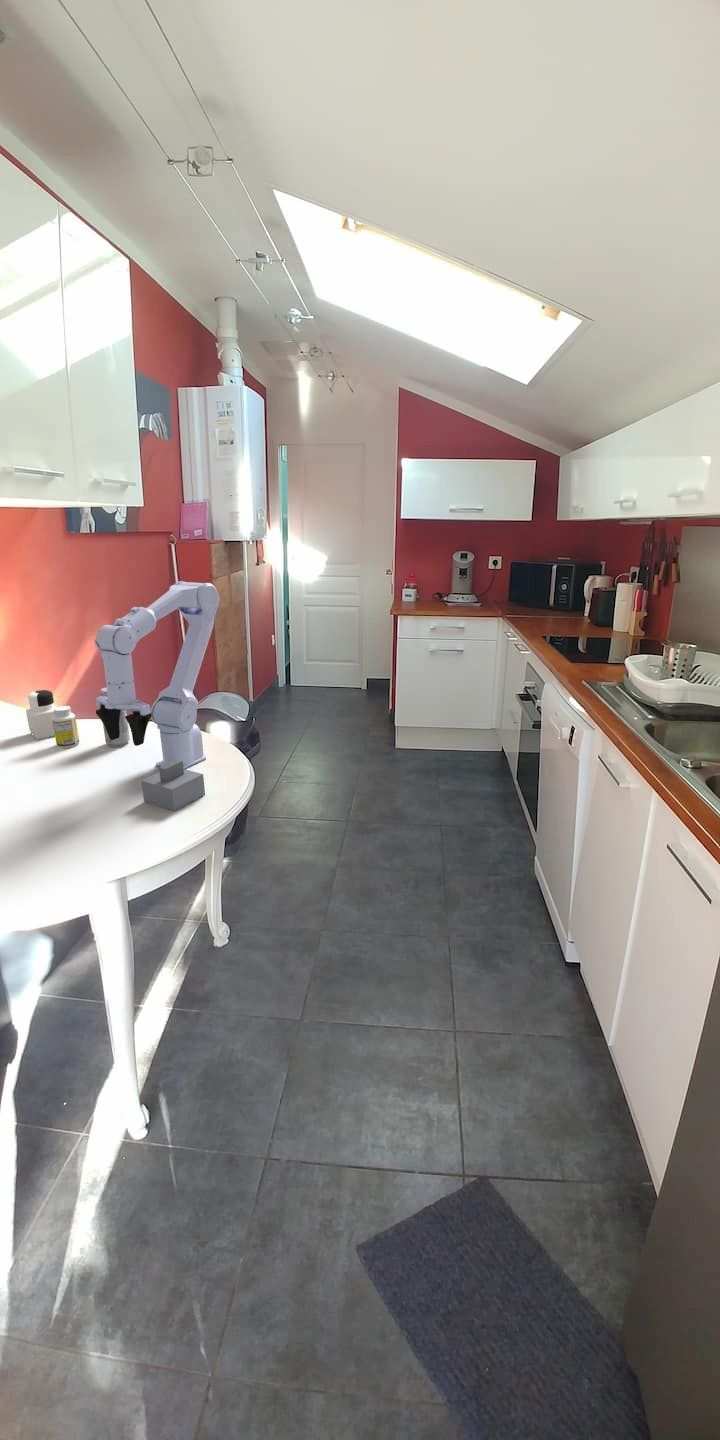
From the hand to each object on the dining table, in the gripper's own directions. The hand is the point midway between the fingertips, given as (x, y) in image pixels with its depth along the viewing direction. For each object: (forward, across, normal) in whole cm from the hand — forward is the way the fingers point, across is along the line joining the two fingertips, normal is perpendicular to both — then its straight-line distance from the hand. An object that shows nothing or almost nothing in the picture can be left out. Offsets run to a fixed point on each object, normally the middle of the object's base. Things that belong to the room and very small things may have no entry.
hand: (126, 741), depth 148 cm
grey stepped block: (+10, +14, 0) cm, 17 cm away
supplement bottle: (+10, -35, +10) cm, 38 cm away
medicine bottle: (+10, -48, +14) cm, 51 cm away
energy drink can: (+10, -24, +17) cm, 31 cm away
